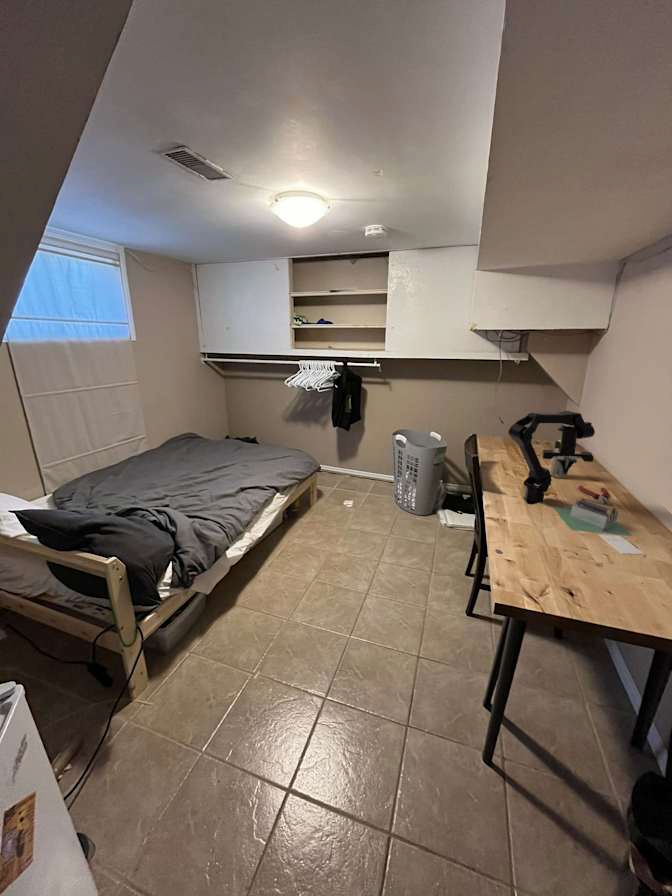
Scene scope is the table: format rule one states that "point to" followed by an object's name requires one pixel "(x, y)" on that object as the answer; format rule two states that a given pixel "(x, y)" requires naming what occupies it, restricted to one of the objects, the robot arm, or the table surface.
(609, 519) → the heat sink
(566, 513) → the green square mat
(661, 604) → the table surface
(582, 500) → the dark metal plate
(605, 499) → the pliers
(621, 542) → the external hard drive
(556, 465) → the spray can
